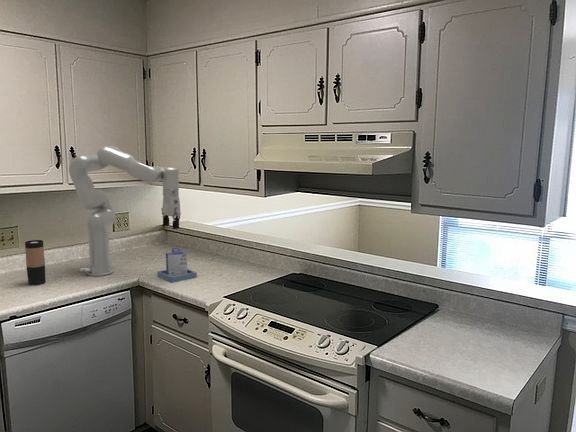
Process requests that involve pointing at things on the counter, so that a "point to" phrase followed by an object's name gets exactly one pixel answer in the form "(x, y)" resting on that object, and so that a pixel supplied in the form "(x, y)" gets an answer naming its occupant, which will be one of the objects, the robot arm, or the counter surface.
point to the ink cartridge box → (176, 263)
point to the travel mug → (35, 262)
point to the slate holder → (171, 279)
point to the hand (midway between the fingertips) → (170, 227)
